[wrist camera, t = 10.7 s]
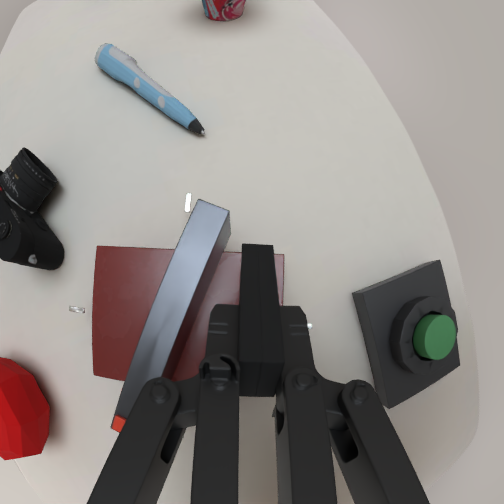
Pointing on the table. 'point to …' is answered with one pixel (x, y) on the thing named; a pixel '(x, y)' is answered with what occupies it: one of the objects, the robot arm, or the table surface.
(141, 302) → the red rectangular box
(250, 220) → the table surface
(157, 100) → the pen
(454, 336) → the green push button
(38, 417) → the apple
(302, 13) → the table surface
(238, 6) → the cup
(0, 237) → the camera
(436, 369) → the control block
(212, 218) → the red-tipped grey slab
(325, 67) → the table surface
